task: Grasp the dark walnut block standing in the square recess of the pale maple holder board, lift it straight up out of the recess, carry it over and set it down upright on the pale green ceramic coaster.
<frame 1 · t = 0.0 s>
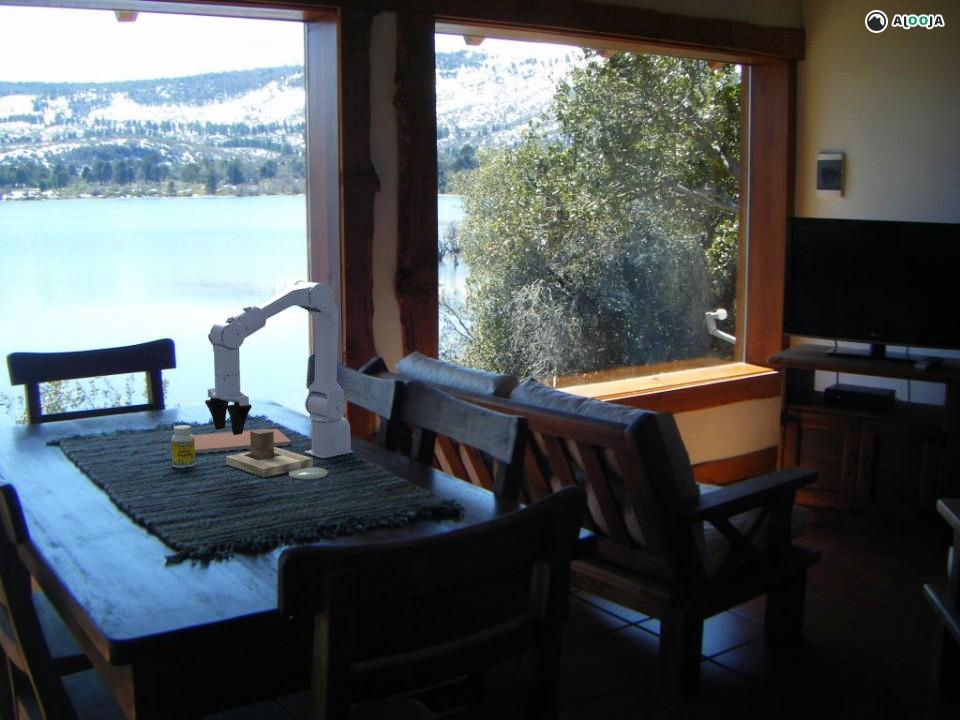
hand: (228, 431, 244), 10 cm above the table, tool pointing down, fingers open, 7 cm apart
notebook: (232, 445, 276), on the table
walnut block: (262, 463, 255), resting in holder board
supplement bottle: (183, 466, 252), on the table
holder board: (269, 465, 253), on the table
coaster: (308, 474, 246), on the table
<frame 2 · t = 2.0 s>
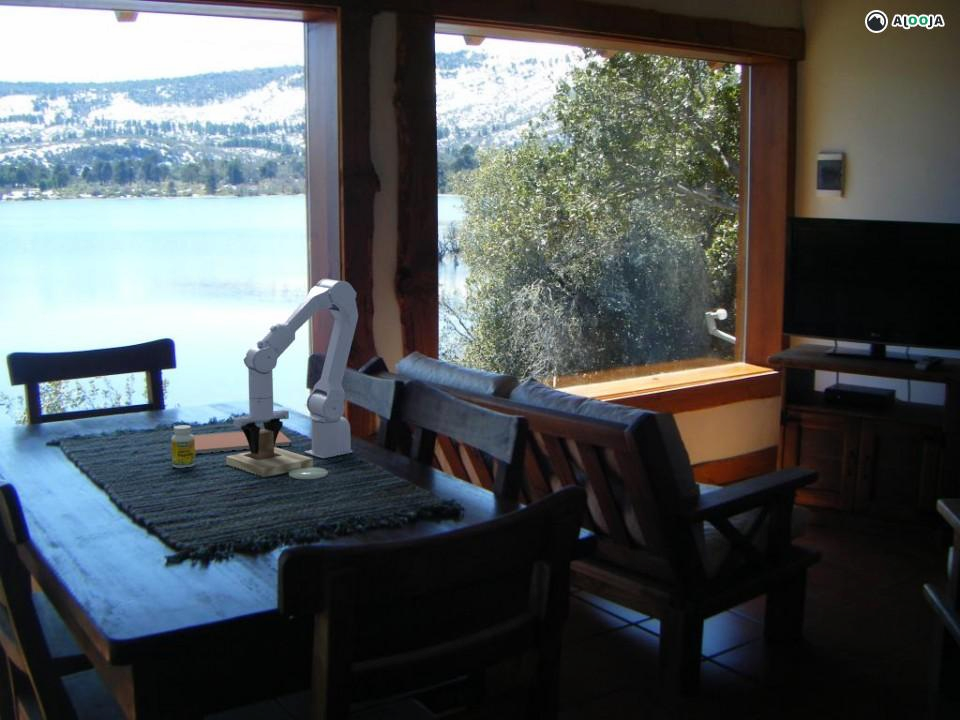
hand: (262, 451, 255), 3 cm above the table, tool pointing down, fingers closed on walnut block, 4 cm apart
walnut block: (262, 463, 255), resting in holder board, touching gripper
everything else where it was.
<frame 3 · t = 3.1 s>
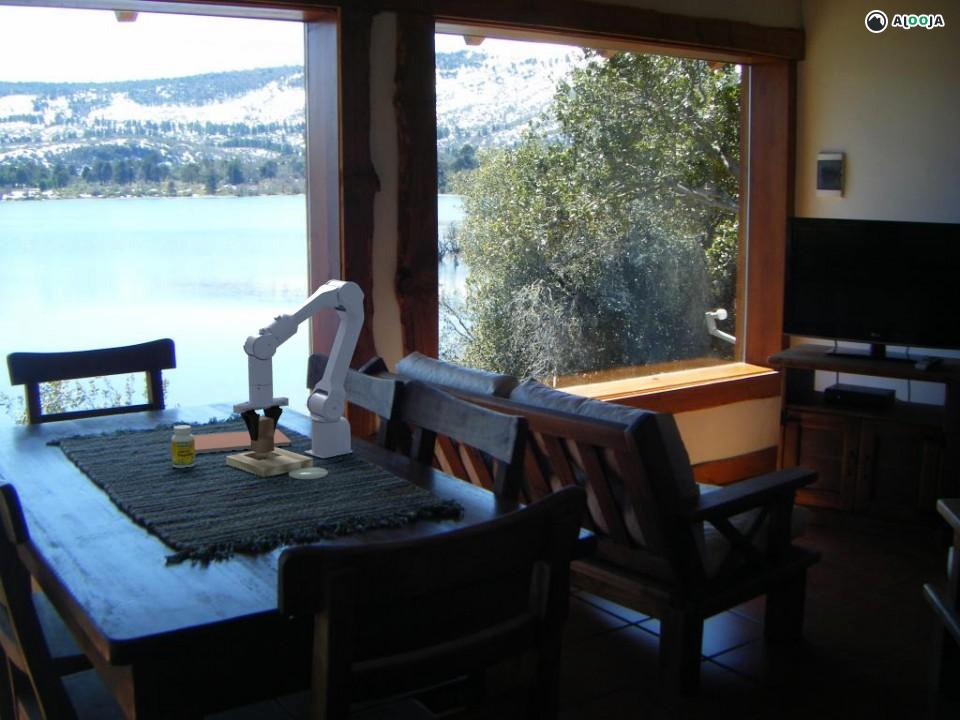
hand: (262, 438, 254), 6 cm above the table, tool pointing down, fingers closed on walnut block, 4 cm apart
walnut block: (262, 450, 255), point 3 cm above the table, touching gripper
everything else where it was.
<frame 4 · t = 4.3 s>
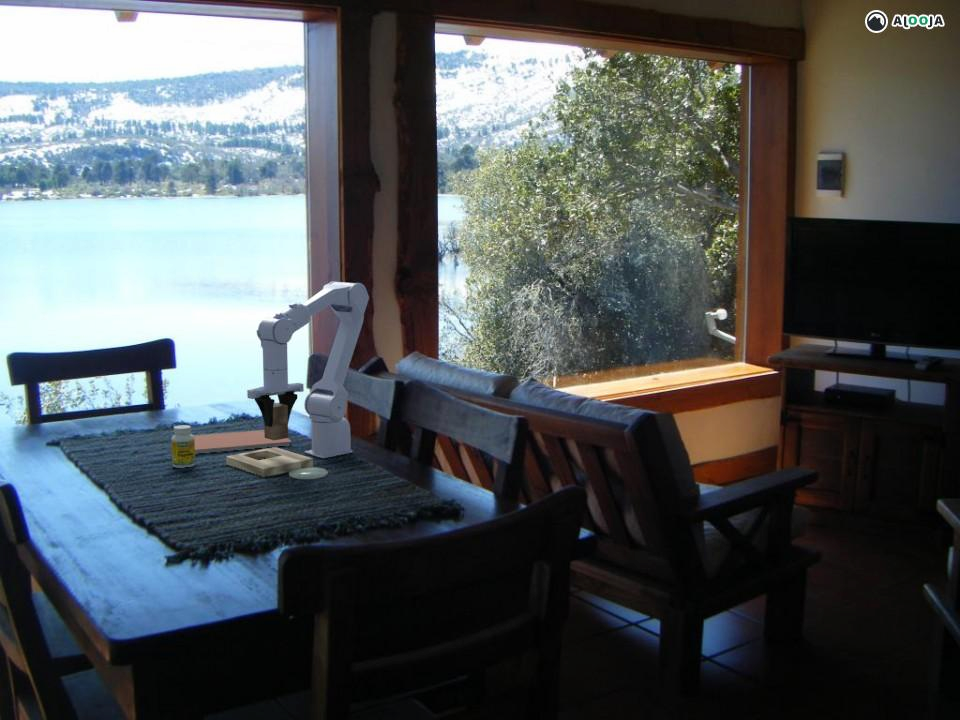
hand: (276, 424, 250), 10 cm above the table, tool pointing down, fingers closed on walnut block, 4 cm apart
walnut block: (276, 437, 251), point 7 cm above the table, touching gripper
everything else where it was.
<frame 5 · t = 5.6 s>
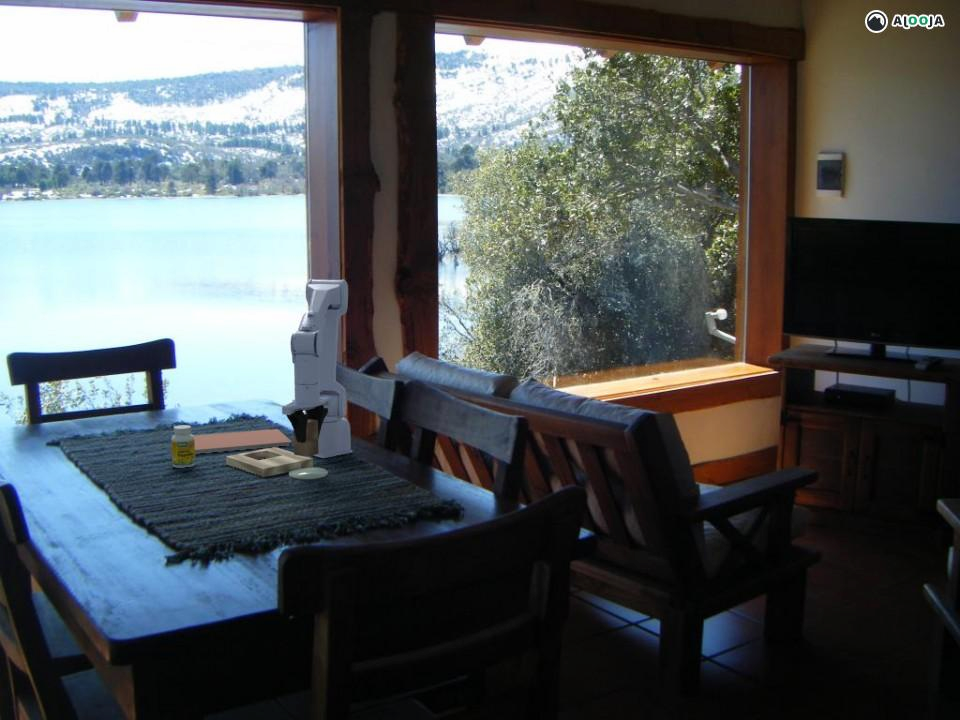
hand: (307, 440, 244), 8 cm above the table, tool pointing down, fingers closed on walnut block, 4 cm apart
walnut block: (306, 454, 245), point 5 cm above the table, touching gripper
everything else where it was.
when the fingers open (4 cm above the table, at t = 6.6 s): walnut block stays where it is, resting on coaster.
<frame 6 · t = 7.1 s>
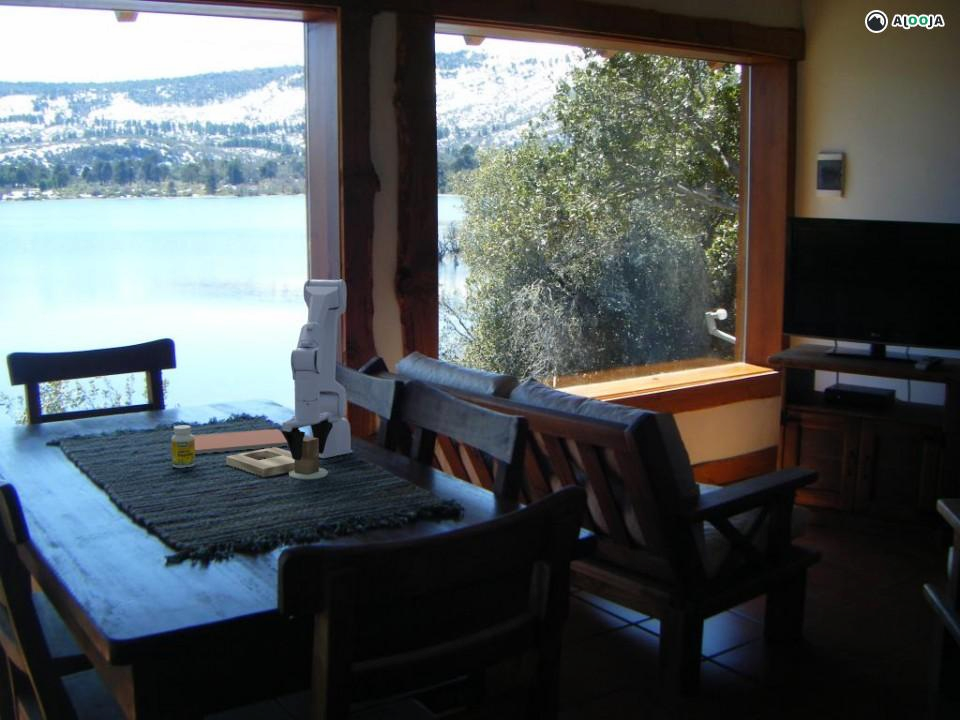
hand: (308, 456, 245), 4 cm above the table, tool pointing down, fingers open, 7 cm apart
walnut block: (306, 472, 246), resting on coaster
everything else where it was.
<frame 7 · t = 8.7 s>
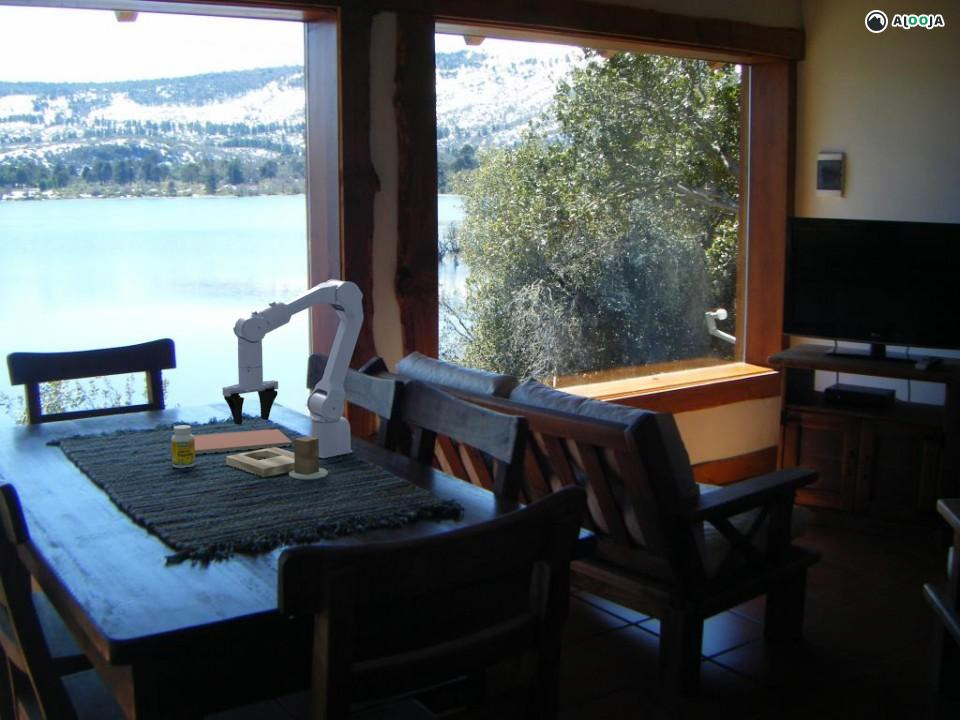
hand: (251, 421, 253), 10 cm above the table, tool pointing down, fingers open, 7 cm apart
nothing on the table moved.
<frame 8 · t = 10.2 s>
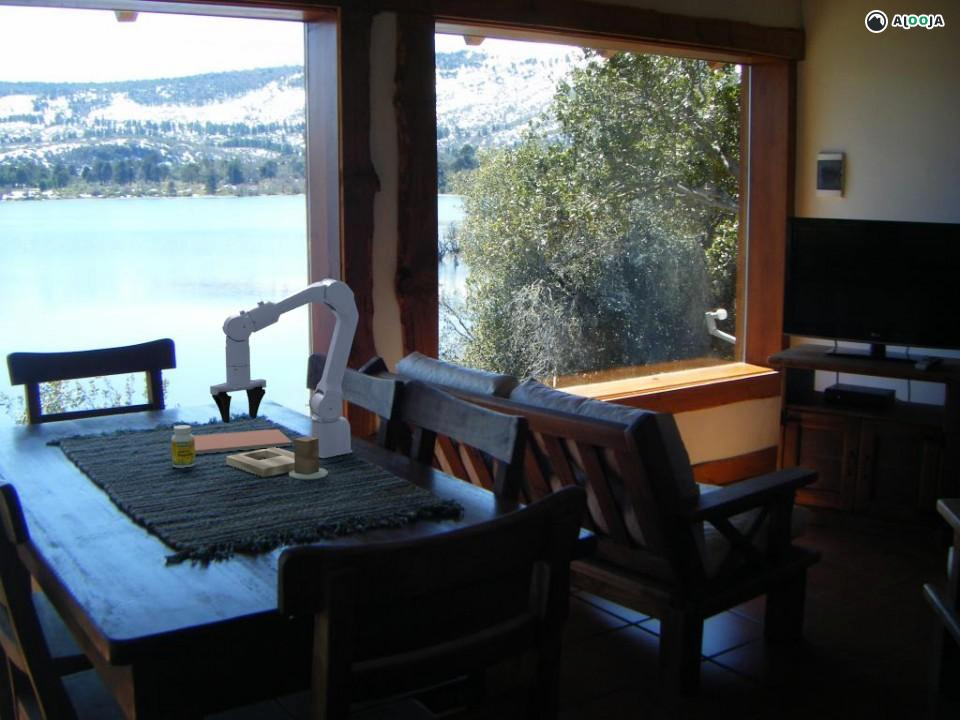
hand: (239, 420, 255), 10 cm above the table, tool pointing down, fingers open, 7 cm apart
nothing on the table moved.
at the end: walnut block 0.5 cm from the coaster (horizontally); walnut block tilted 0°; walnut block point 0.5 cm above the table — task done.
